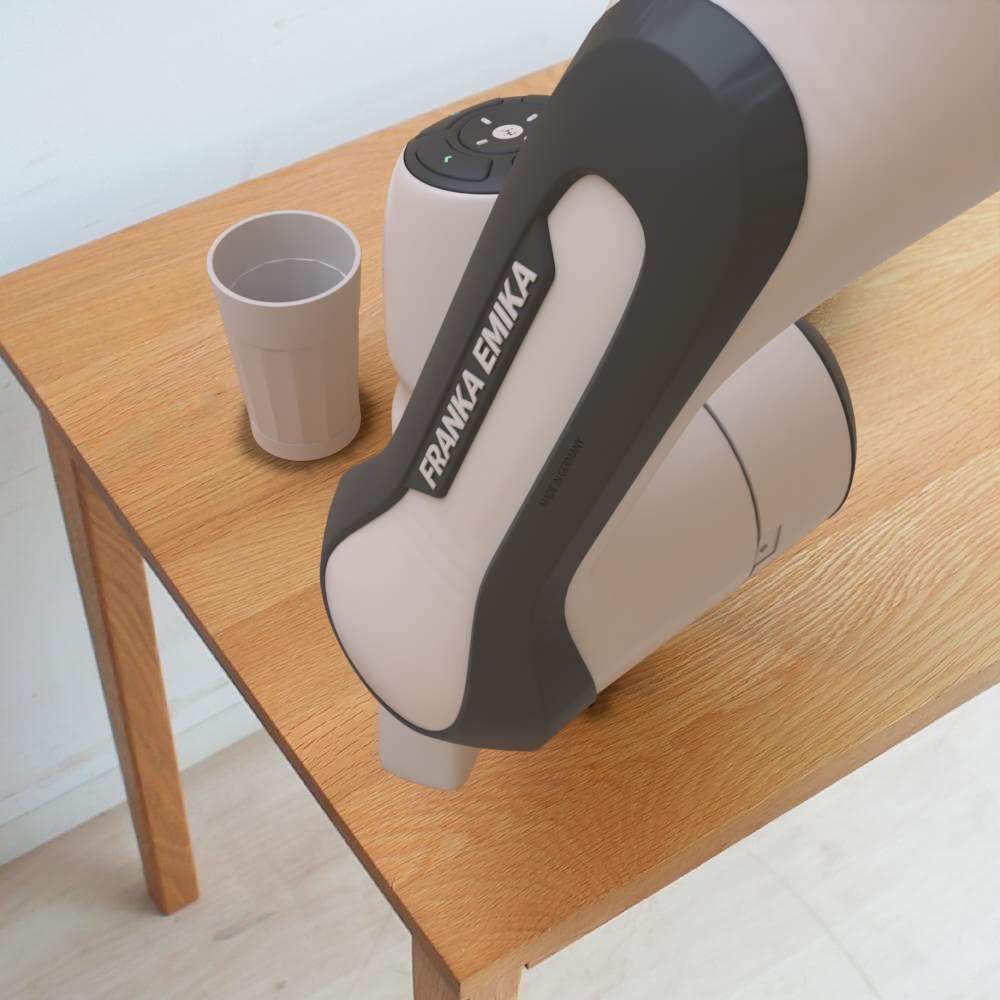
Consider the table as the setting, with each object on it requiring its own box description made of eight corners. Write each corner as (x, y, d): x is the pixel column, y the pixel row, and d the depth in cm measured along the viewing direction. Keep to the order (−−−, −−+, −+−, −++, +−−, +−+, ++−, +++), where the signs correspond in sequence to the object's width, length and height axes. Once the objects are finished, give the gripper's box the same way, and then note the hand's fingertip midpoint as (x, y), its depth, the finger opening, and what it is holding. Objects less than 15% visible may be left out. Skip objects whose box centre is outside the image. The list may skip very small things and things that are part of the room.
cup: (370, 471, 81) (356, 306, 72) (228, 471, 81) (196, 305, 72) (379, 374, 86) (366, 209, 77) (245, 374, 86) (217, 209, 77)
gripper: (486, 693, 51) (487, 881, 61) (650, 333, 64) (628, 538, 74) (323, 642, 52) (351, 834, 62) (515, 300, 65) (512, 505, 75)
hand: (502, 671), depth 68 cm, fingers closed
